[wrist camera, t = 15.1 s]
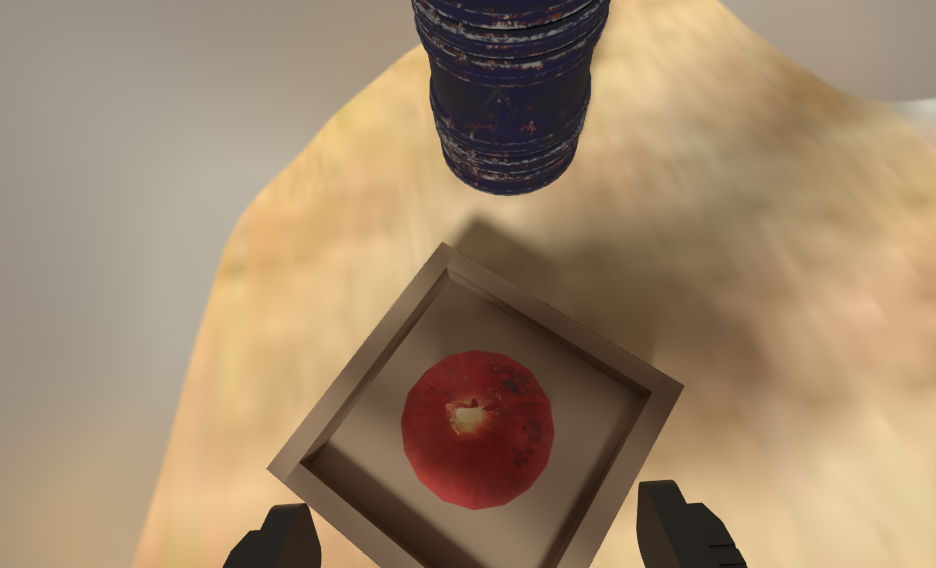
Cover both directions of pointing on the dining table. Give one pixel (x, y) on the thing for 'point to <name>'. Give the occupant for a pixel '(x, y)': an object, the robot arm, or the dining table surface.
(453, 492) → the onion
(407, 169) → the dining table surface
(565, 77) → the storage jar
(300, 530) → the robot arm
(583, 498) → the wooden square tray
